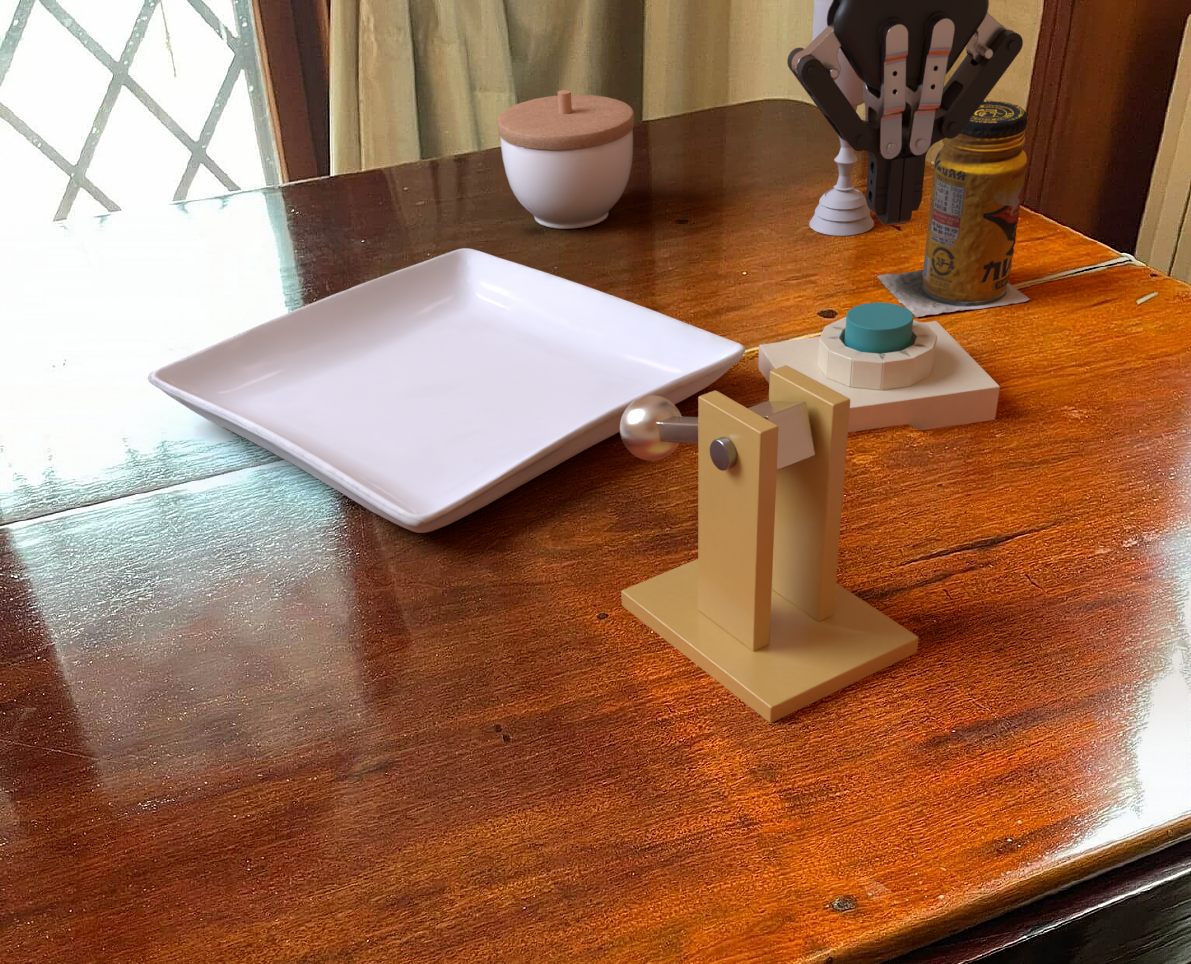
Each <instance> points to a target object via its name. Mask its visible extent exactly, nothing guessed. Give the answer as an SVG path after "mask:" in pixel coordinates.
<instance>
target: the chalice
mask: <svg viewBox="0 0 1191 964" xmlns="http://www.w3.org/2000/svg"><path fill="white" fill-rule="evenodd" d="M832 2H833V0H813V15H812V16H813V17H812V32H811V33H812V35H811V42H812V41H813V40H814V39H815V38H816V37H817V36H818V35H819V34H820V33H821V32H822V31H823V30H824V29H825V28H826V27H827V14H828V10H829V8H830V5H831V3H832ZM838 61H839V63H840V66H841V70H840V74H839V76H838V78H837V79H836V80H835V83H836V84H837V85H838V87H839V88H840V90H841V91H842V93H843V94H844V95H845V97H846V98H847V100H848V101H849V102H850V104H851V105H852V107H853V108H854V110H855V111H856V112H857V109H858V106H861V105H864V104H865V103H864V101H863V96H862V80H861V79H860V78H859V77H858V76H857V74H856V73H855V71H854V70H853V68H852V67H851V65H850V63H849V62H848V60H847V59H846V57H845V55H844V54H843V52H842V51H841V49H840V48H839V51H838ZM837 137H838V138H839V144H840V149H839V151H838V152H839V153H838V154H837V155H836V156H835V157H834V159H833V161H834V162H835V163H836V165H837V169H838V177H837V178H838V179H837V182H836V184H835V185H833V188H831V189H829V190H827V191H825V192H824V193H823V194H822V196H821V197H820V198H819V201H818V202H819V203H818V204H817V206H816V207H815V209H814V214H813V216H812V217H811V219H810V220H809V224H808V226H809V227H810V228H811V229H812V230H813V231H814V232H817V233H820V234H823V235H828V236H839V237H840V236H841V237H843V236H844V237H845V236H855V235H859V234H860V235H861V234H864V233H866V232H868V231H870V230H871V229H873V228H874V226H875V221H874V220H873V218H872V216H871V210H870V209H869V208H868V205H867V202H866V195H864V194H863V192H862V191H860V190H859V189H856V187H855V185H854V184H853V182H852V171H853V167H854V164H856V163H857V161H858V157H857V156H856V155H855V150H854V149H853V148H852V147H851V146H850V145H849V144H848V143H847V142H846V141H845V140H843V139H841V138H840V137H839V136H838V135H837Z"/></svg>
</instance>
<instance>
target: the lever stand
mask: <svg viewBox="0 0 1191 964" xmlns="http://www.w3.org/2000/svg"><path fill="white" fill-rule="evenodd" d="M768 385H769V387H768V388H769V389H768V401H790V402H806V403H807V409H808V415H809V421H810V426H811V432H812V438H813V444H814V449H815V456H812V457H810V458H807V459H805V460H802V461H800V462H797V463H795V464H792V465H790V466H787V467H785V468H782V469H780V470H777V452H778V429H779V427H778V426H777V425H775V424H774V423H772V422H770V421H768V420H767V419H765V418H763V417H761V416H760V415H758V414H756V413H755V412H753V411H751V410H749V409H748V408H749V407H748V408H747V407H746V406H744V405H743V404H741V403H740V402H737V401H736V400H733V399H732V398H730V397H728V396H727V395H725V394H723V393H721V392H720V391H718V390H712V391H709V392H707V393H704V394H701V395H699V396H698V398H697V400H698V403H697V404H698V405H697V406H698V409H697V410H698V416H697V417H698V444H697V445H698V450H697V452H698V453H697V456H698V457H697V459H698V460H697V463H698V465H697V469H698V470H697V472H698V473H697V475H698V476H697V479H698V480H697V482H698V483H697V488H698V489H697V534H698V535H697V549H698V550H697V552H698V553H697V554H698V555H697V557H698V558H696V559H694V560H692V561H689V562H687V563H685V564H682V565H680V566H678V567H675V568H672V569H670V570H668V571H665V572H663V573H660V574H657V575H655V576H652V577H651V578H648V579H646V580H643V581H640V582H639V583H636V584H633V585H632V586H629V587H626V588H624V589H622V590H621V591H620V596H621V597H620V598H621V606H622V607H623V608H624V609H626V610H627V612H629V613H630V614H632V615H633V616H634V617H636V618H637V619H638V620H639V621H641V622H642V623H643V624H644V625H646V626H647V627H648V628H649V629H651V630H652V631H653V632H655V633H656V634H657V635H658V636H660V637H661V638H662V639H663V640H665V641H666V642H667V643H669V645H671V646H672V647H673V648H675V649H676V650H677V651H678V652H680V653H681V654H683V656H685V657H686V658H687V659H689V660H690V661H691V662H693V663H694V664H695V665H696V666H697V667H699V668H700V669H701V670H702V671H704V672H705V673H706V674H708V675H709V676H710V677H711V678H713V679H714V680H715V681H716V682H718V683H719V685H722V686H723V687H724V688H725V689H727V690H728V691H729V692H730V693H732V694H733V695H734V696H735V697H737V698H738V699H739V700H740V701H742V702H743V703H744V704H745V705H747V706H748V707H749V708H751V710H753V711H754V712H756V713H757V714H758V715H759V716H761V717H762V718H763V719H765V720H766V721H767V722H768V723H770V724H772V723H774V722H776V721H778V720H780V719H782V718H784V717H786V716H788V715H790V714H793V713H795V712H797V711H798V710H801V709H803V708H805V707H807V706H809V705H811V704H814V703H815V702H817V701H819V700H821V699H824V698H826V697H828V696H829V695H832V694H834V693H836V692H838V691H840V690H842V689H844V688H846V687H848V686H851V685H852V684H855V683H857V682H859V681H862V680H863V679H865V678H867V677H870V676H871V675H873V674H875V673H877V672H879V671H882V670H883V669H886V668H888V667H890V666H892V665H894V664H896V663H898V662H900V661H902V660H904V659H906V658H909V657H911V656H913V655H914V654H917V653H918V646H919V636H918V635H916V634H914V633H913V632H912V631H911V630H909V629H907V628H906V627H904V626H902V625H901V624H899V623H898V622H896V621H895V620H893V619H892V618H890V617H889V616H887V615H886V614H885V613H883V612H881V611H880V610H878V609H877V608H875V607H874V606H872V605H871V604H869V603H868V602H866V601H865V600H863V599H862V598H860V597H859V596H857V595H856V594H854V593H853V592H851V591H850V590H848V589H847V588H845V587H844V586H842V585H840V584H839V583H838V582H837V575H838V563H839V551H840V537H841V524H842V514H843V512H842V511H843V501H844V489H845V487H844V486H845V476H846V475H845V474H846V463H847V462H846V461H847V448H848V436H849V432H848V425H849V412H850V399H849V398H848V397H846V396H844V395H842V394H840V393H838V392H836V391H834V390H832V389H831V388H829V387H827V386H825V385H823V384H821V383H819V382H817V381H815V380H813V379H812V378H810V377H808V376H806V375H804V374H802V373H800V372H798V371H796V370H795V369H793V368H791V367H789V366H786V365H785V366H782V367H780V368H777V369H774V370H771V371H770V383H768Z"/></svg>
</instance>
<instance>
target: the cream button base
mask: <svg viewBox="0 0 1191 964" xmlns="http://www.w3.org/2000/svg"><path fill="white" fill-rule="evenodd" d="M845 327H846V316H844V317H842V318H840V319H838V320H835V321H833V322H831V323H829V324H827V325H825V326H824V327H823V330H822V332H821V334H820V336H815V337H807V338H800V339H793V340H785V341H777V342H770V343H762V344H759V345H758V364H757V365H758V367H757V368H758V370H759V371H760V373H761V374H762V376H763V378H764V379H765V380H766V382H767V383H768V384H769V383H770V371H771V370H774V369H777V368H780V367H782V366H785V365H786V366H789V367H791V368H793V369H795V370H796V371H798V372H800V373H802V374H804V375H806V376H808V377H810V378H812V379H813V380H815V381H817V382H819V383H821V384H823V385H825V386H827V387H829V388H831V389H832V390H834V391H836V392H838V393H840V394H842V395H844V396H846V397H848V398H849V399H850V412H849V425H848V433H853V432H860V431H861V432H862V431H867V430H868V431H869V430H875V429H881V428H889V427H890V428H891V427H895V426H896V427H897V426H903V425H908V426H910V427H912V428H913V429H915V430H918V431H920V432H921V431H928V430H935V429H942V428H949V427H956V426H962V425H969V424H976V423H983V422H990V421H995V420H996V415H997V408H998V404H999V403H998V402H999V396H1000V390H1001V386H1000V385H999V384H998V383H997V381H995V379H993V378H992V377H991V376H990V375H989V374H988V373H987V371H986V370H985V369H984V368H983V367H982V366H981V365H980V364H979V363H978V362H977V361H976V360H975V359H974V357H972V356H971V354H969V353H968V352H967V350H965V349H964V348H963V346H962V345H960V344H959V342H958V341H957V340H956V339H955V338H954V337H953V335H951V334H950V333H949V332H948V331H947V330H946V329H945V328H944V327H943V325H941V324H940V323H939V322H938V321H937V320H933V321H924V322H922V321H918V320H916V319H913V328H912V337H911V345H910V347H908V348H906V349H904V350H902V351H897V352H890V353H883V354H878V353H867V352H860V351H857V350H855V349H852V348H849V347H847V346H845Z"/></svg>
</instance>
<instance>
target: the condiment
mask: <svg viewBox="0 0 1191 964" xmlns="http://www.w3.org/2000/svg"><path fill="white" fill-rule="evenodd" d="M1028 122H1029V120H1028V114H1027V111H1026V110H1025V109H1024V108H1023V107H1021V106H1019V105H1018V104H1014V103H1011V102H1007V101H999V100H998V101H997V100H984V101H983V102H982V104H981V105H980V106H979V108H978V109H977V110H976V112H975V113H974V115H973V116H972V117H971V119H970V120H969V121H968V123H967V124H966V125H965V127H964V128H963V129H962V131H961V132H960V133H959V135H958V136H956V137H955V138H952V139H949V138H944V139H942V140H941V143H942V144H943V145H942V147H941V149H940V150H938V152H937V154H936V156H935V159H934V165H933V175H932V182H931V184H932V185H931V193H930V203H929V211H928V221H927V229H926V237H925V238H926V240H925V246H924V247H925V248H924V257H923V266H922V268H923V269H918V270H914V271H908V272H907V271H906V272H903V273H900V272H899V273H886V274H879V275H876V277H877V279H879V281H880V283H881V284H882V285H883V286H884V287H885V288H886V289H887V290H888V291H889V293H890V294H891V295H892V296H894V297H895V299H897V302H898V303H899V304H902V305H903V307H905V308H907V309H908V310H910V311H911V312H912V314H913V316H914V317H915V318H919V317H925V316H929V315H930V316H931V315H940V314H942V313H951V312H952V313H953V312H957V311H965V310H967V311H968V310H979V309H987V308H993V307H999V306H1008V305H1011V304H1015V305H1016V304H1020V303H1024V302H1028V301H1029V300H1031V298H1029V297H1028V296H1027V295H1026V294H1025V293H1022V292H1021V291H1020V290H1019V289H1017V288H1016V287H1014V285H1012V284H1011V283H1010V276H1011V269H1012V267H1013V265H1012V264H1013V258H1014V255H1015V245H1016V239H1017V230H1018V223H1019V216H1020V210H1021V204H1022V196H1023V190H1024V185H1025V184H1024V183H1025V178H1026V172H1027V165H1028V164H1027V163H1028V156H1027V154H1026V152H1025V150H1024V149H1023V147H1024V145H1025V143H1026V137H1025V134H1026V129H1027V124H1028Z"/></svg>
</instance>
